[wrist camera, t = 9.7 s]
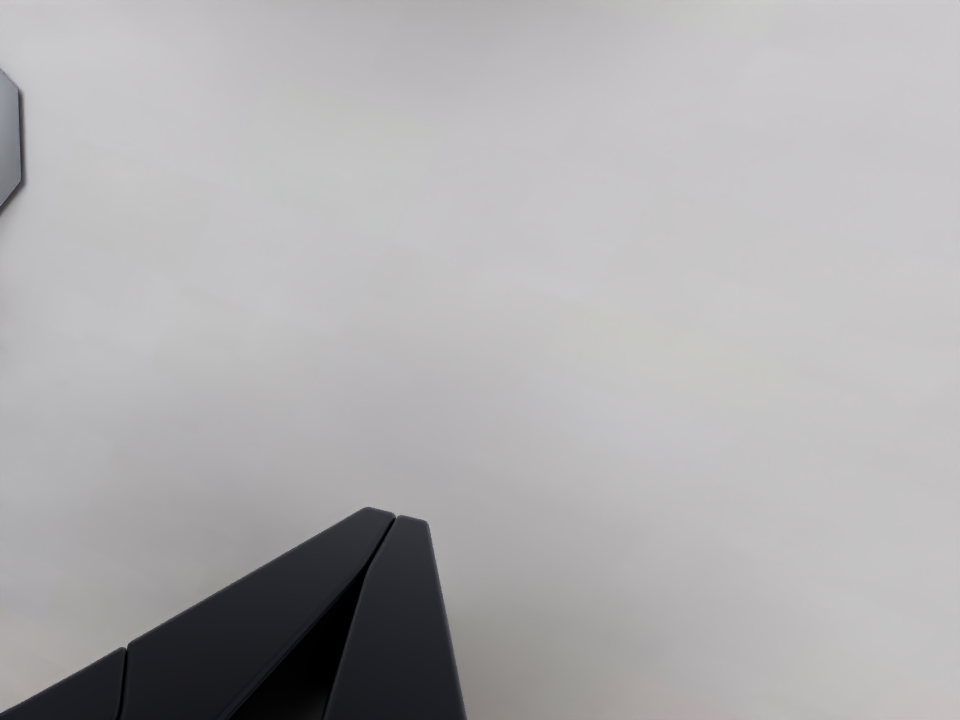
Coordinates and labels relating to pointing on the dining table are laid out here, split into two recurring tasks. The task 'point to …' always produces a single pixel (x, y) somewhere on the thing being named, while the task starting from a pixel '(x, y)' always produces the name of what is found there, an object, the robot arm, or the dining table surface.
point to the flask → (9, 138)
